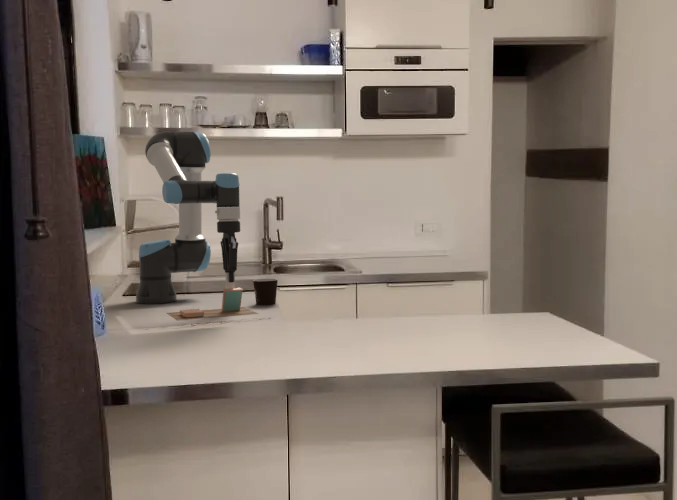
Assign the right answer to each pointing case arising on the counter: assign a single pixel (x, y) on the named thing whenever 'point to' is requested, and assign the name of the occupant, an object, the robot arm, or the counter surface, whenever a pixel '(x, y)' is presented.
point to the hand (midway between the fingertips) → (230, 291)
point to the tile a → (192, 313)
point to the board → (215, 314)
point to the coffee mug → (265, 291)
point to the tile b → (231, 299)
